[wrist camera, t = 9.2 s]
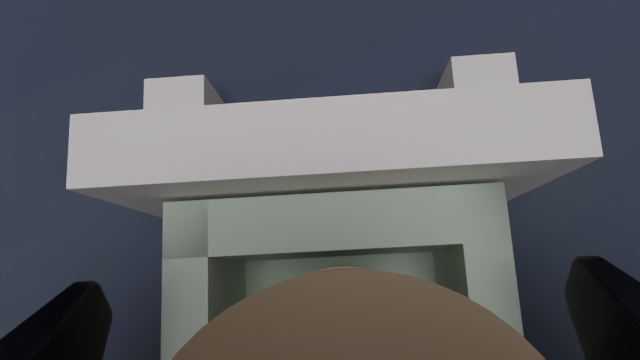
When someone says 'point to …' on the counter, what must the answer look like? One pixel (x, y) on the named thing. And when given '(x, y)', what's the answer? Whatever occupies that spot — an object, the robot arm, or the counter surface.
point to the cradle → (333, 247)
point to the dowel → (357, 322)
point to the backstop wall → (335, 139)
